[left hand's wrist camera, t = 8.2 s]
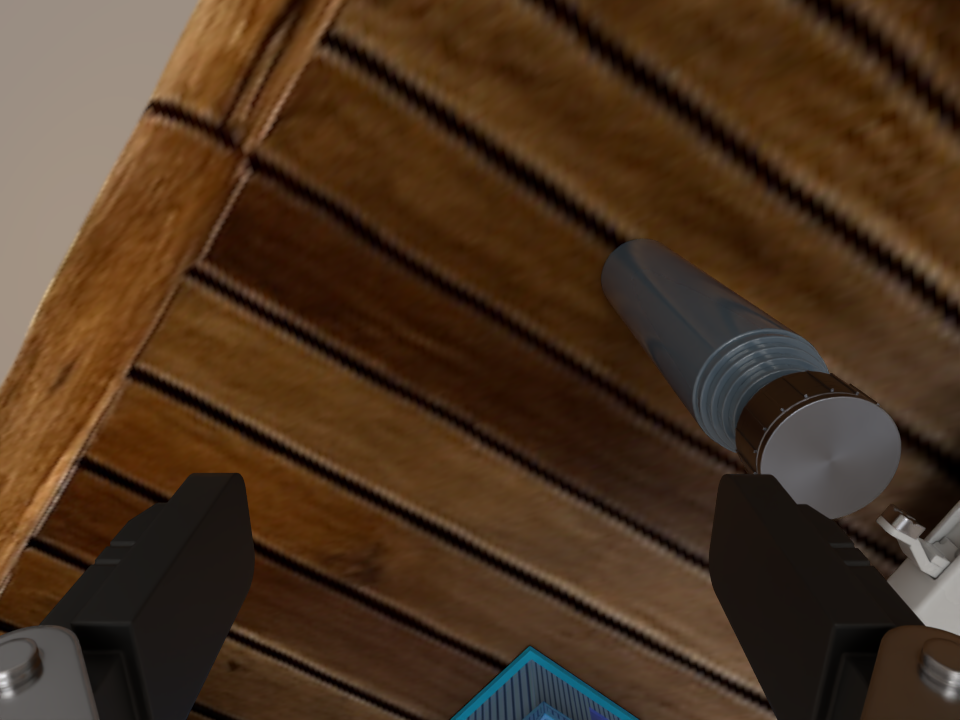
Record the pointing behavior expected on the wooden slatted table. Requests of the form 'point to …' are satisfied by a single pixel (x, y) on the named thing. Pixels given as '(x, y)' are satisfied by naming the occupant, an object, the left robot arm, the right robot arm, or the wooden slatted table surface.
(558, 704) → the model building
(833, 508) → the cap
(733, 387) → the bottle
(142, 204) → the wooden slatted table surface
